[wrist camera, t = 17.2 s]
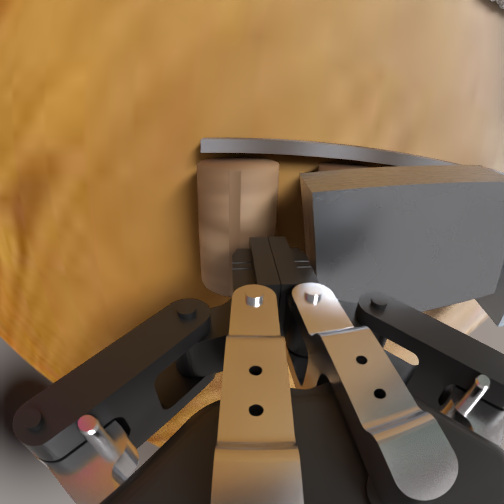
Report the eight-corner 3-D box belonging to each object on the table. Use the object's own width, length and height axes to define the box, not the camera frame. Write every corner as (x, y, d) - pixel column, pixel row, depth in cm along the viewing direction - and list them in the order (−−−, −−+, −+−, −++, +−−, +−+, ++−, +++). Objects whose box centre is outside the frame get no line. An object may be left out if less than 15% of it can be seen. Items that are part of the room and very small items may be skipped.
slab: (307, 291, 15) (317, 330, 12) (299, 173, 12) (312, 192, 10) (467, 265, 14) (494, 293, 12) (480, 165, 12) (517, 181, 9)
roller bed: (207, 273, 19) (197, 311, 16) (203, 137, 16) (187, 146, 12) (458, 276, 19) (485, 306, 16) (486, 171, 15) (523, 188, 12)
